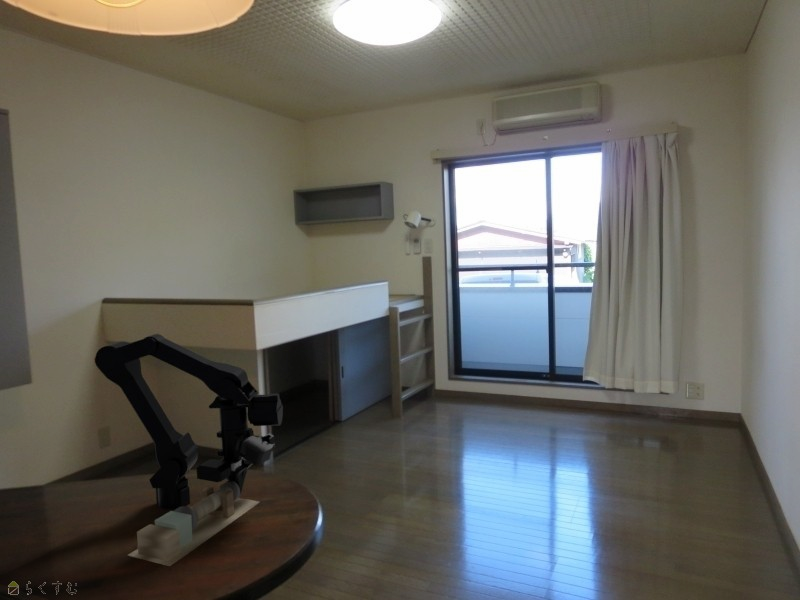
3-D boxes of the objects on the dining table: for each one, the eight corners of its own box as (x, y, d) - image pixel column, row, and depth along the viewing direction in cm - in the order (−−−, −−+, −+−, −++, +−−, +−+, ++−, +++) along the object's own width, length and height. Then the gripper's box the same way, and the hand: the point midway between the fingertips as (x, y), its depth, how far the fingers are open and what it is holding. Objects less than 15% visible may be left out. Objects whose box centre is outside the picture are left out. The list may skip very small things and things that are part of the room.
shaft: (171, 532, 105) (170, 506, 104) (222, 499, 118) (221, 477, 118) (192, 537, 103) (191, 511, 102) (242, 503, 116) (241, 480, 116)
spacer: (156, 545, 101) (154, 520, 101) (172, 535, 105) (171, 510, 104) (176, 551, 99) (175, 525, 99) (192, 540, 103) (191, 515, 103)
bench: (127, 559, 98) (125, 528, 98) (223, 498, 122) (222, 473, 122) (170, 570, 95) (168, 538, 94) (260, 505, 119) (259, 479, 118)
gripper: (237, 446, 106) (241, 521, 108) (289, 415, 123) (292, 480, 125) (192, 439, 110) (197, 512, 112) (249, 411, 127) (252, 474, 129)
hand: (238, 493), depth 119 cm, fingers closed
